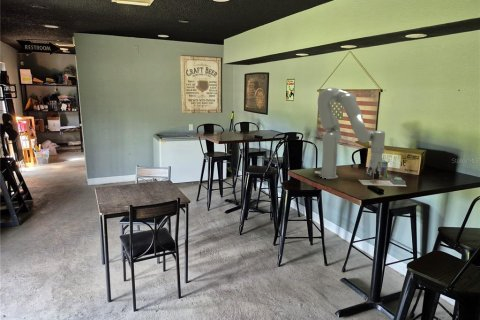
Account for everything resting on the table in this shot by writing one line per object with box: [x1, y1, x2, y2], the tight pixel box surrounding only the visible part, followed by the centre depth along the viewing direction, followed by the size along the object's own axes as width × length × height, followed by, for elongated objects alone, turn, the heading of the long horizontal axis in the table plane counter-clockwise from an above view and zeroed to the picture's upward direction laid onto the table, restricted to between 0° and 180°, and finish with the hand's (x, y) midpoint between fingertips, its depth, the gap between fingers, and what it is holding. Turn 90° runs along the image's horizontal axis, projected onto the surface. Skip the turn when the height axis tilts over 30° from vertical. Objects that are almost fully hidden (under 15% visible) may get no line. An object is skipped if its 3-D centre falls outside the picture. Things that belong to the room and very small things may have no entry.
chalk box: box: [368, 159, 389, 179], centre depth 224 cm, size 9×9×15 cm
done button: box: [393, 176, 403, 182], centre depth 206 cm, size 4×4×2 cm
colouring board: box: [358, 178, 407, 187], centre depth 207 cm, size 26×12×3 cm, turn 84°
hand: (375, 178), depth 209 cm, fingers closed on rust marker, 3 cm apart
